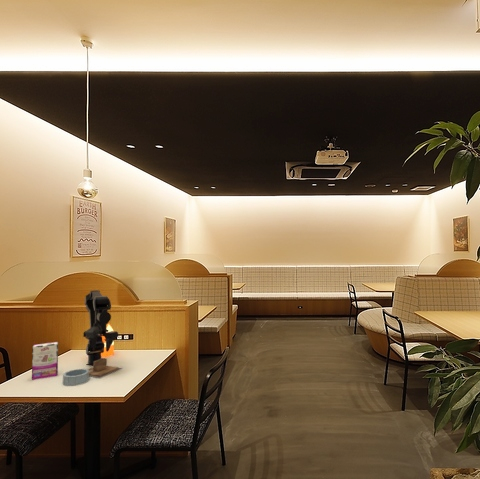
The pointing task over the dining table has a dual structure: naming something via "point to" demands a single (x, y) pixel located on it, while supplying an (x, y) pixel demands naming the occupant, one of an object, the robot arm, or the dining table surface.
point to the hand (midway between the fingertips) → (100, 350)
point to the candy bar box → (44, 360)
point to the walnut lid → (101, 368)
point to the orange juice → (105, 344)
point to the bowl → (75, 377)
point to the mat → (106, 374)
